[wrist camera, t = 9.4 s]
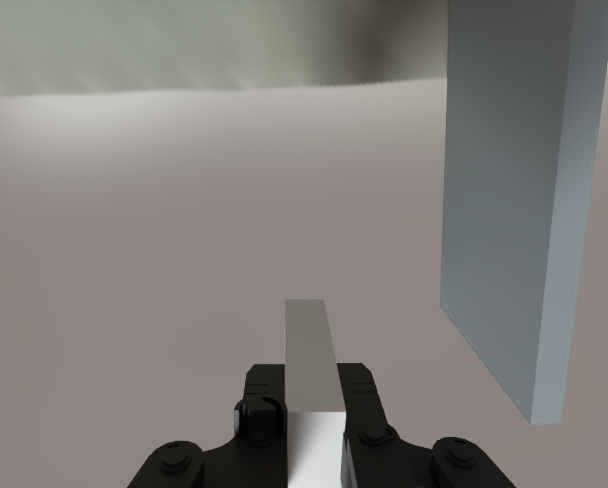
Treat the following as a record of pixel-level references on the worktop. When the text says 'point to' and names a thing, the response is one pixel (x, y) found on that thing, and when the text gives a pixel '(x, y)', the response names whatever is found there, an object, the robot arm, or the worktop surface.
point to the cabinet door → (520, 184)
